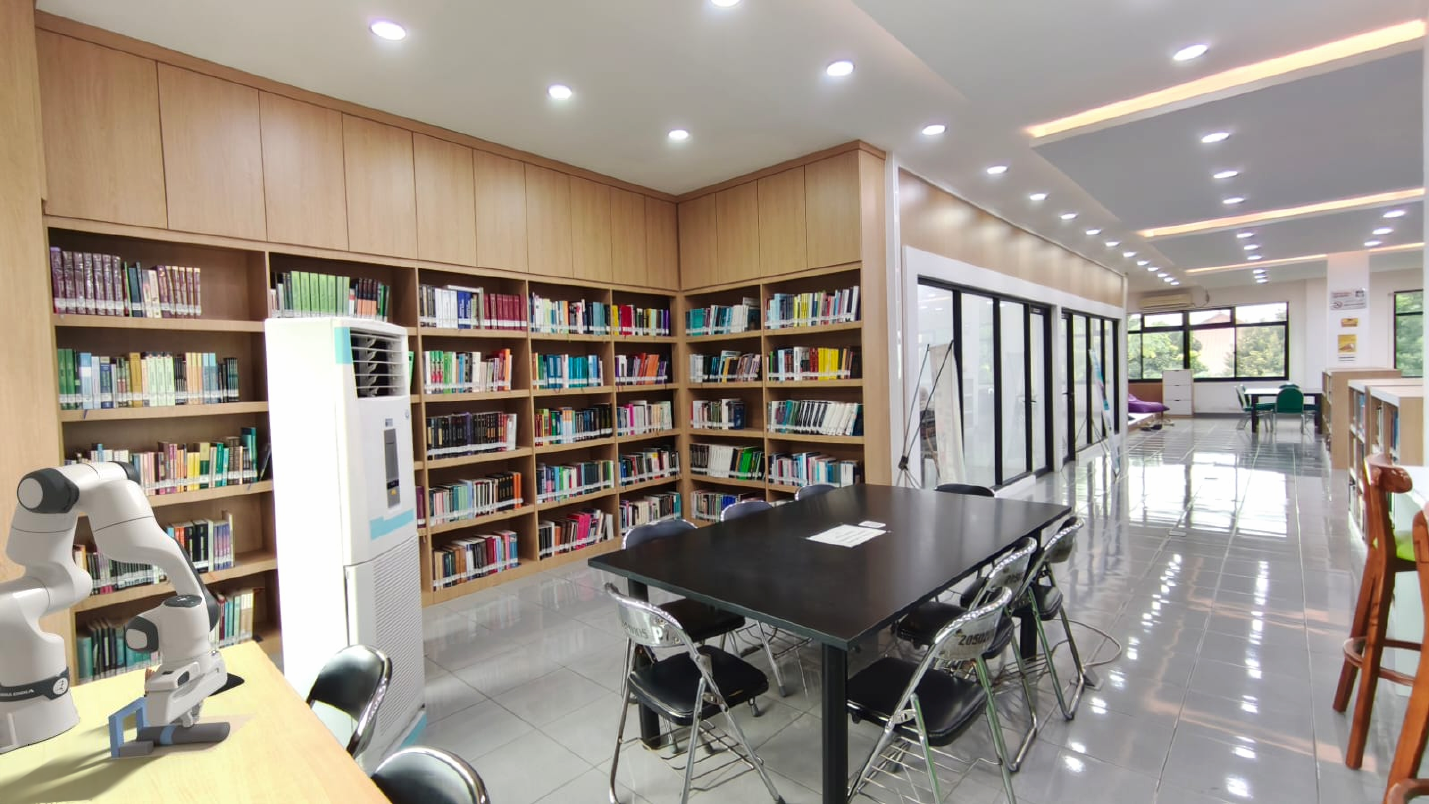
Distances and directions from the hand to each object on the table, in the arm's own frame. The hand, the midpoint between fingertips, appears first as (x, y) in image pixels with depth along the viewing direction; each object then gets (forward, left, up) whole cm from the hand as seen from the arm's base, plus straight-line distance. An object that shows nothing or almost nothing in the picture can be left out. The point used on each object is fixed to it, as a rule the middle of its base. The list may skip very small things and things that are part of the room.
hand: (192, 723), depth 147 cm
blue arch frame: (-14, 0, -6) cm, 15 cm away
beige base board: (-4, +4, -6) cm, 7 cm away
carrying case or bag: (-16, +29, -6) cm, 34 cm away
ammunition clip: (-20, +16, -6) cm, 26 cm away
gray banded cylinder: (-2, 0, -4) cm, 5 cm away
